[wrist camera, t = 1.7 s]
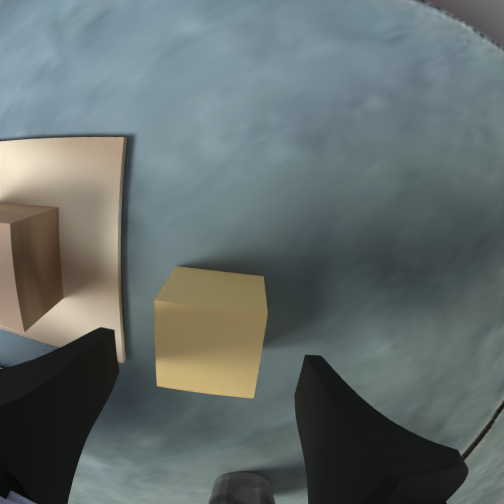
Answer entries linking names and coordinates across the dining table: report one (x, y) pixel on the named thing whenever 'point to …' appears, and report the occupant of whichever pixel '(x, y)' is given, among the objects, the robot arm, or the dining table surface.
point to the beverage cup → (242, 489)
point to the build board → (75, 227)
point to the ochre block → (210, 331)
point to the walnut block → (28, 264)
